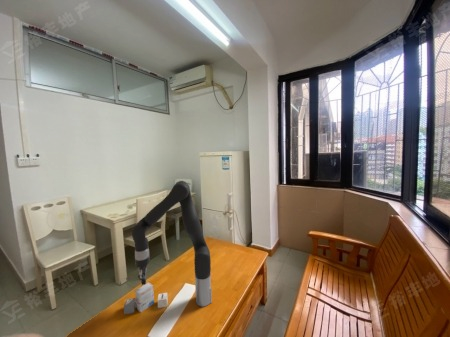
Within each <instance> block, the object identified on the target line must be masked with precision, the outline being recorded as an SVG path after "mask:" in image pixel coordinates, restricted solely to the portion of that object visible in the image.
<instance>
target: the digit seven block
mask: <svg viewBox="0 0 450 337" xmlns="http://www.w3.org/2000/svg"><path fill="white" fill-rule="evenodd" d="M136 309H137V305H136V297H133V298H128V299H125V303H124V304H123V314H124V315H130V314H134V313H135V310H136Z"/></svg>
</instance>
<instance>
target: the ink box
mask: <svg viewBox="0 0 450 337" xmlns="http://www.w3.org/2000/svg"><path fill="white" fill-rule="evenodd" d="M134 294H135V298H136V309H137V310H138V312H139V313H142V312H144V311H146V310H147V309H148V308H149V307H151V306H152V305H154V304H155V297H154V296H155V294H154V285H153V284H152V283H150V282H146V284H145V285H142V286H140V287H138V288H137V289H135V292H134Z"/></svg>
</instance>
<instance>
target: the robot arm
mask: <svg viewBox="0 0 450 337" xmlns="http://www.w3.org/2000/svg"><path fill="white" fill-rule="evenodd" d="M190 188H191V187H190V185H189V184H188V182H186V181H184V180H178V181H177V182H176V183H175V184H174V185H173V187H172V189H171V190H170V191H169V192H168V194H167V195H166V197H165V198H163V199H162V200H161V201H160V202H159V203H158V204H156V205H155V206H153V208H151V210H150V211H148V212H147V213H146V214H145V215H144V216H143V217H142V218H140V219H139V221H138V222H136V224H135V225H134V226H133V227H132V230H131V237H132V241H133V242H134V262H135V263H134V264H135V265H134V266H135V267H137V268H138V272H139V275H138V279H139V281H141V285H142V286H143V285H145V284H147V273H148V265H149V264H150V262H151V260H150V249H149V239H148V237H146V234H147V232H148V231H149V229H150V228H151V227H152V226H153V225H155V224H156V223H157V222H158V221H159V220H160V219H162V217H164V215H166V213H168V212H169V210H171V209H172V208H173V207H174V206H175V205H177V204H178V203H179V205H180V212H181V219H182V223H183V226H184V229H185V232H186V234H187V236H188V237H189V238H190V240H191V242H192V245H193V251H194V261H193V262H194V280H195V284H194V285H195V304H197V305H198V307H202V308H203V307H207V306H208V305H210V304H211V303H213V302H212V298H213V297H212V296H213V295H212V284H211V282H212V281H211V279H212V278H211V271H212V268H211V265H212V264H211V263H212V261H211V252H210V248H209V246H208V245H207V243H206V240H205V238H204V233H203V228H202V224H201V221H200V217H199V215H198V212H197V209H196V207H195V204H194V202H193V199H192V194H191V189H190Z"/></svg>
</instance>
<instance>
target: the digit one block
mask: <svg viewBox="0 0 450 337" xmlns="http://www.w3.org/2000/svg"><path fill="white" fill-rule="evenodd" d="M168 302H169V300H168V292H163V293H158V296H157V309H161V308H166V307H168Z"/></svg>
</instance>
